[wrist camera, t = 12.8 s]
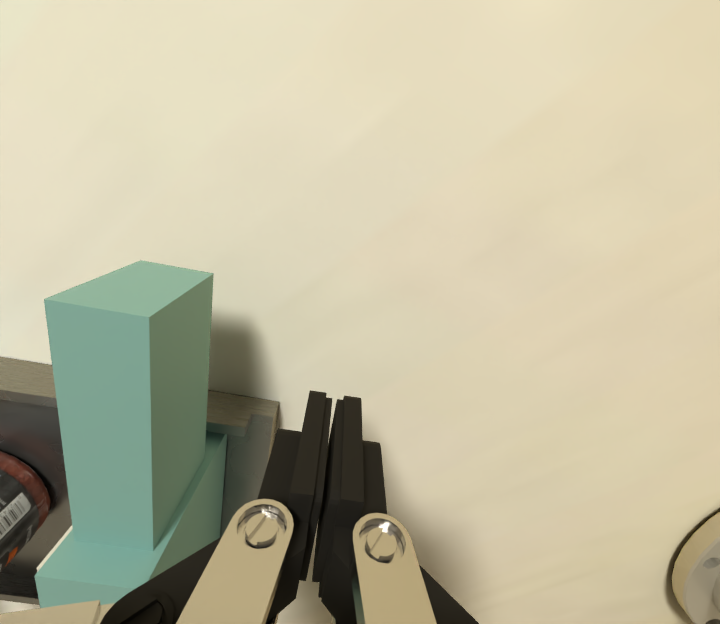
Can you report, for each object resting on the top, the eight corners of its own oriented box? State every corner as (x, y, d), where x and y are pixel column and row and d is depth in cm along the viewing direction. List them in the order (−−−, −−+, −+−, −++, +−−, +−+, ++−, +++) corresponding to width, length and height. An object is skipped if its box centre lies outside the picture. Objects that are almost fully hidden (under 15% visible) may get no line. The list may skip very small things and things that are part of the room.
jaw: (239, 262, 14) (134, 339, 8) (215, 597, 21) (149, 786, 15) (150, 245, 14) (-36, 310, 7) (155, 589, 21) (62, 777, 15)
